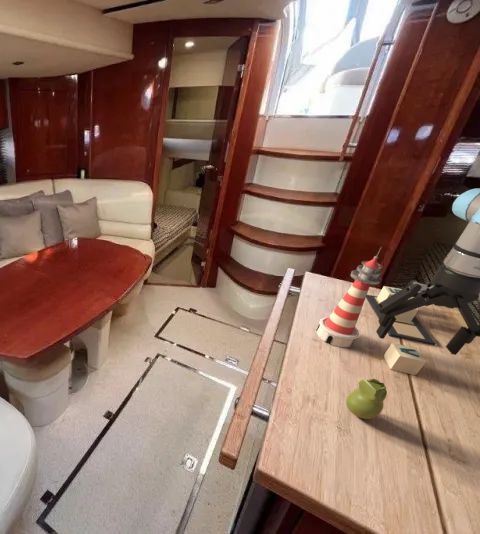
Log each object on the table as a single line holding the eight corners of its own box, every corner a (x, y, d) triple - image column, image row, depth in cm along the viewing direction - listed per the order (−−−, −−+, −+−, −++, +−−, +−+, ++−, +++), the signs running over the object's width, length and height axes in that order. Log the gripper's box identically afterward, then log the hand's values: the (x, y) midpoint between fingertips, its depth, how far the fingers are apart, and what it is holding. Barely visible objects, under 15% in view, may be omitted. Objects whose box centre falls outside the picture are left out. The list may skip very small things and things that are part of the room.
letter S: (395, 301, 103) (403, 288, 100) (401, 309, 99) (410, 296, 96) (376, 298, 105) (384, 285, 102) (382, 306, 101) (389, 293, 98)
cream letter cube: (406, 361, 81) (417, 347, 79) (415, 375, 77) (426, 361, 75) (383, 356, 83) (392, 342, 81) (390, 369, 79) (400, 355, 77)
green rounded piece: (379, 423, 67) (402, 394, 62) (355, 424, 67) (376, 394, 62) (358, 401, 71) (378, 372, 66) (336, 402, 71) (354, 372, 66)
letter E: (403, 313, 97) (411, 300, 95) (410, 322, 93) (419, 309, 91) (383, 309, 99) (391, 296, 97) (389, 318, 95) (397, 305, 93)
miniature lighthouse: (348, 353, 84) (403, 259, 69) (310, 336, 90) (353, 245, 75) (357, 338, 89) (410, 247, 74) (320, 323, 95) (362, 235, 80)
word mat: (401, 302, 103) (403, 300, 103) (434, 345, 86) (436, 343, 86) (365, 296, 107) (366, 294, 107) (389, 336, 90) (390, 333, 89)
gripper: (399, 267, 67) (357, 338, 78) (567, 292, 58) (493, 369, 69) (386, 252, 73) (348, 320, 84) (537, 273, 64) (473, 347, 75)
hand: (413, 342), depth 76 cm, fingers open, 13 cm apart
